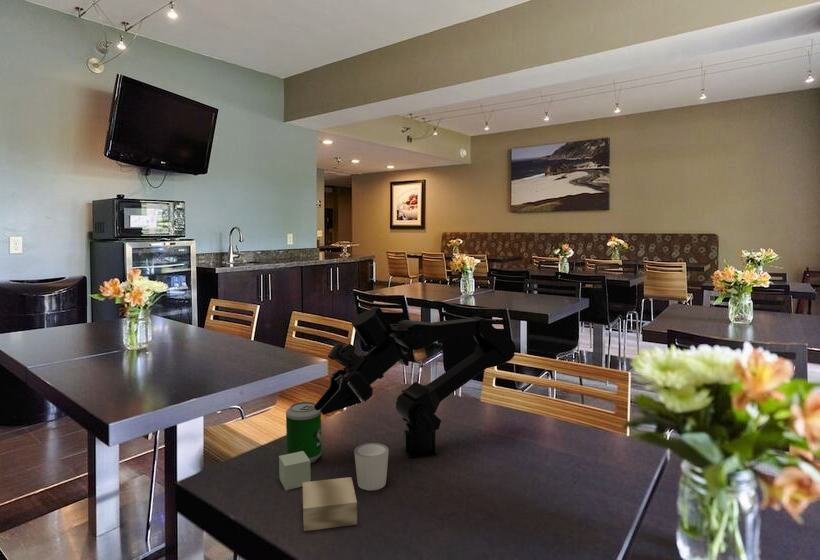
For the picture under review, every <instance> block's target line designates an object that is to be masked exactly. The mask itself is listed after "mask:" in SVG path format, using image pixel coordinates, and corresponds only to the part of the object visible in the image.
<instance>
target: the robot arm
mask: <svg viewBox="0 0 820 560" xmlns="http://www.w3.org/2000/svg"><path fill="white" fill-rule="evenodd" d="M351 325H352V327H353V328H354V330H355V331H356V333H357V334H358V336H359V338H360V339H361V341H362V343H363V344H364V346H366V347H370V346H371V347H372V348H371V349H370V350H369V351H368V352H366V353H365V354H360V355H358V354H357V353H356V346H354V345H353V344H351V343H347V344H345V345H343V344H342V343H335V344H333V347H332V348H331V349H330V351H329V353H328V354H327V357H328V358H329V359H330V360H331V361H332V360H334V362H335V361H336V362H337V363H339V364H340V365H342V366H344V367H343V369H336V370H334V372H332V373H331V374H330V377H329V386H328V388H327V389H326V391H325V392H324V393H323V394H322V396H320V397H319V400H318V401H317V402H316V403H315V406H314V408H315V409H316V410H320V409H321V410H320V412H321V415H324V416H325V415H327V414H331V413H334V412H337V411H340V410H343V409H346V408H350V407H353V406H356V405H358V404H359V405H360V404H362V402H365V403H366V402H367V401H368V400H369V399H371V398H372V397H373V393H374V388H373V387H372V384H374V383H375V382H376V381H378V380H381V379H383V378H384V377H385V375H384V374H386V372H388V371H389V370H390V369H392V367H394V366H395V365H396V364H397V363H400V364H402V365H403V366H405V367H408V366H409V363H410V356H411V354H410V353H408V352H407V351H404V350H403V348H402V347H401V346H403V347H404V348H405V347H406V348H407V349H410V350H413V351H418V350H421V349H425V348H427V347H429V346H432V345H433V344H434V343H436V342H439V341H445V340H452V339H459V338H468V337H473V338H474V340H475V342H476V346H475V349H474V350H473V352H472V353H471V354H469V355H468V356H467V357H465V358H464V359H463V360H461V361H459V362H458V363H456V364H455V365H454V366H452V367H451V368H448V370H447V371H446V372H444V373H442V374H441V375H439V376H438V377H436V378H435V379H434V380H432V381H431V382H428V384H421V383H419V382H418V381H415V382H413V383H411V385H410V386H408V387H406V388H405V389H401V394H400V395H398V396H397V398H396V402H395V410H396V412H397V414H399V415H400V416H401V417H402V420H403V422H406V423H405V430H403V449H404V450H405V452H406V454H407V455H408V457H409V458H410V459H412V458H413V459H414V458H423V457H424V458H425V457H432V456H439V455H438V453H439V452H438V451H437V450H436V431H437V430H439V429H440V426H441V423H442V420H441V419H440V418H439V417H438V416H437V415H436V414H435V413H437V410H438V408H439V406H440V403H441V402H442V401H444V400H445V399H446V398H448V397H449V396H451V395H452V394H453V393H455V392H456V391H457V390H459V389H460V388H462V387H463V386H464V385H466V384H467V383H469V382H470V381H472V380H473V379H475V377H477V376H478V375H479V374H481V373H482V372H483V371H485V370H486V369H490V368H494V367H499V366H502V365H505V364H506V363H508V362H510V361H511V360H512V359H513V358H514V357H515V355H516V354H515V353H516V344H515V342H514V341H513V340H512V338H508V337H506V335H504V334H503V332H501V331H500V330H498V329H497V328H495V327H494V326H493V325H492V323H490V321H488V320H487V319H485V318H483V317H479V316H472V317H468V318H467V317H466V318H460V319H452V320H441V321H434V322H430V321H429V322H427V321H420V320H413V319H412V320H411V319H402V320H400V321H398V322H397V323H392V324H391V323H389V322H388V320H387V318H386V317H385V315H384V312H383V311H382V309H381V307H378V306H375V307H373V308H372V309H368V310H366V311H364V312H360V313H359V314H357V315H356V316H355V317H354V318H353V320H352V321H351ZM392 338H394V340H395V341H394V340H393V339H392Z"/></svg>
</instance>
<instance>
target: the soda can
mask: <svg viewBox="0 0 820 560" xmlns="http://www.w3.org/2000/svg"><path fill="white" fill-rule="evenodd" d="M315 404H316V403H315V402H313V401H312V402H311V401H299V402H295V403H293V404H291V405H290V406H289V407H288V408H287V410H286V411H285V419H286V420H285V427H286V429H285V430H286V454H291V453H295V452H300V451H304V453H305V454H306V455H307V457H308V458H309V460H310V464H312V463H315V462H316V461H317V460H318V458H320V457H321V455H322V454H323V453H322V450H323V449H322V413H321V412H320V410H321V409H320V410H316V409H315V408H314V406H315Z"/></svg>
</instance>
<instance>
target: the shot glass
mask: <svg viewBox="0 0 820 560" xmlns="http://www.w3.org/2000/svg"><path fill="white" fill-rule="evenodd" d="M353 451H354V461H355V470H356V471H355V472H356V480H357V481H356V482H357V486H358V488H360V489H361V490H366V491H378V490H380V489H383V488H385V486H386V484H387V476H388V474H387V473H388V464H389V463H388V462H389V452H390V449H389V448H388V446H386V445H385V444H382V443H377V442H369V443H364V444H360V445H358V446H357V447H355V449H354V450H353Z"/></svg>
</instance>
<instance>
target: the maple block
mask: <svg viewBox="0 0 820 560" xmlns="http://www.w3.org/2000/svg"><path fill="white" fill-rule="evenodd" d="M302 510H303V511H302V512H303V513H302V514H303V519H302V521H303V532H308V531H316V530H317V531H318V530H324V529H331V528H332V529H333V528H339V527H341V528H342V527H349V526H356V525H358V501H357V495H356V491H355V487H354V482H353V478H352V476H351V477H340V478H338V477H337V478H331V479H329V478H328V479H321V480H313V481H310V482H303V486H302Z"/></svg>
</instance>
